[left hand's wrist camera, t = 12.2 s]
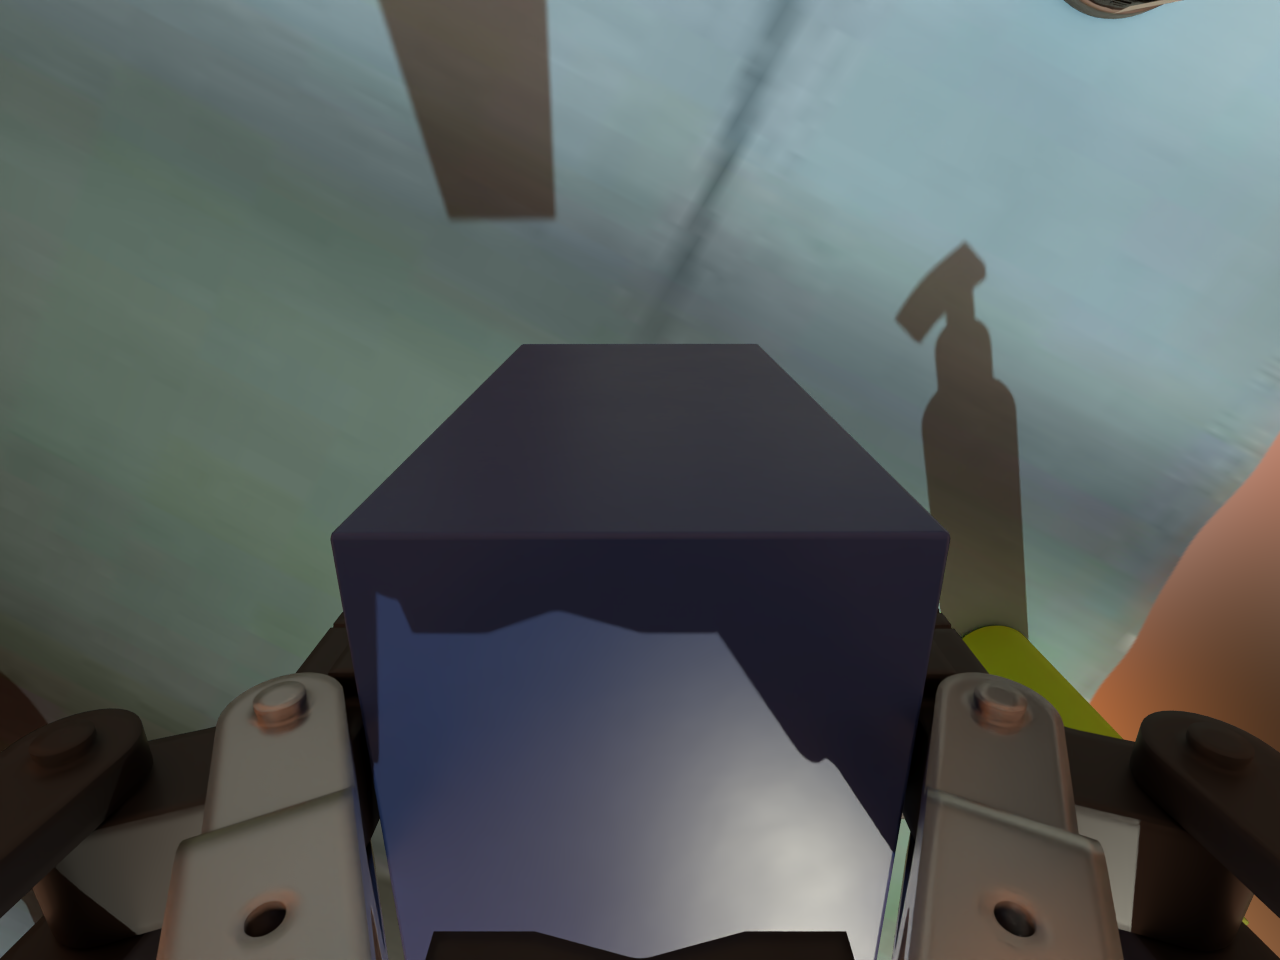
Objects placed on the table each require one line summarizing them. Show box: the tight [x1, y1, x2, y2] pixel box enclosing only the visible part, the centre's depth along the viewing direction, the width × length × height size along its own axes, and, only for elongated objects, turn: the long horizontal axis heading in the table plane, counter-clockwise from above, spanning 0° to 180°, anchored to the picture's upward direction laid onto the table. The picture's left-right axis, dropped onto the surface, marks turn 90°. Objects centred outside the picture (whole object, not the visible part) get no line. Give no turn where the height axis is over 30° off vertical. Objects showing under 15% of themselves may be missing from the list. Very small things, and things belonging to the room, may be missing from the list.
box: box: [331, 344, 950, 960], centre depth 17 cm, size 28×6×11 cm, turn 0°
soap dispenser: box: [962, 626, 1249, 925], centre depth 39 cm, size 6×7×20 cm
